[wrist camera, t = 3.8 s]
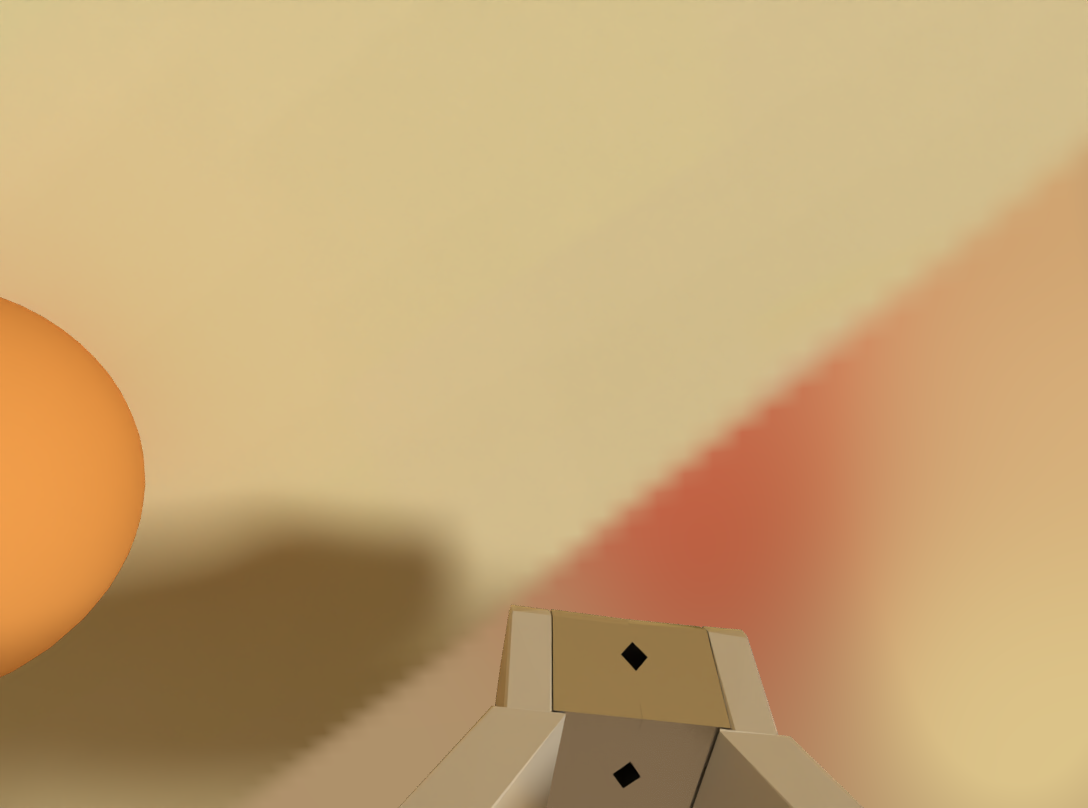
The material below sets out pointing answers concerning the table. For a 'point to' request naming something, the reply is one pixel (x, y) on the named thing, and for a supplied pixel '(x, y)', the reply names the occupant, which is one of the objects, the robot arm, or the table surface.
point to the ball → (59, 483)
